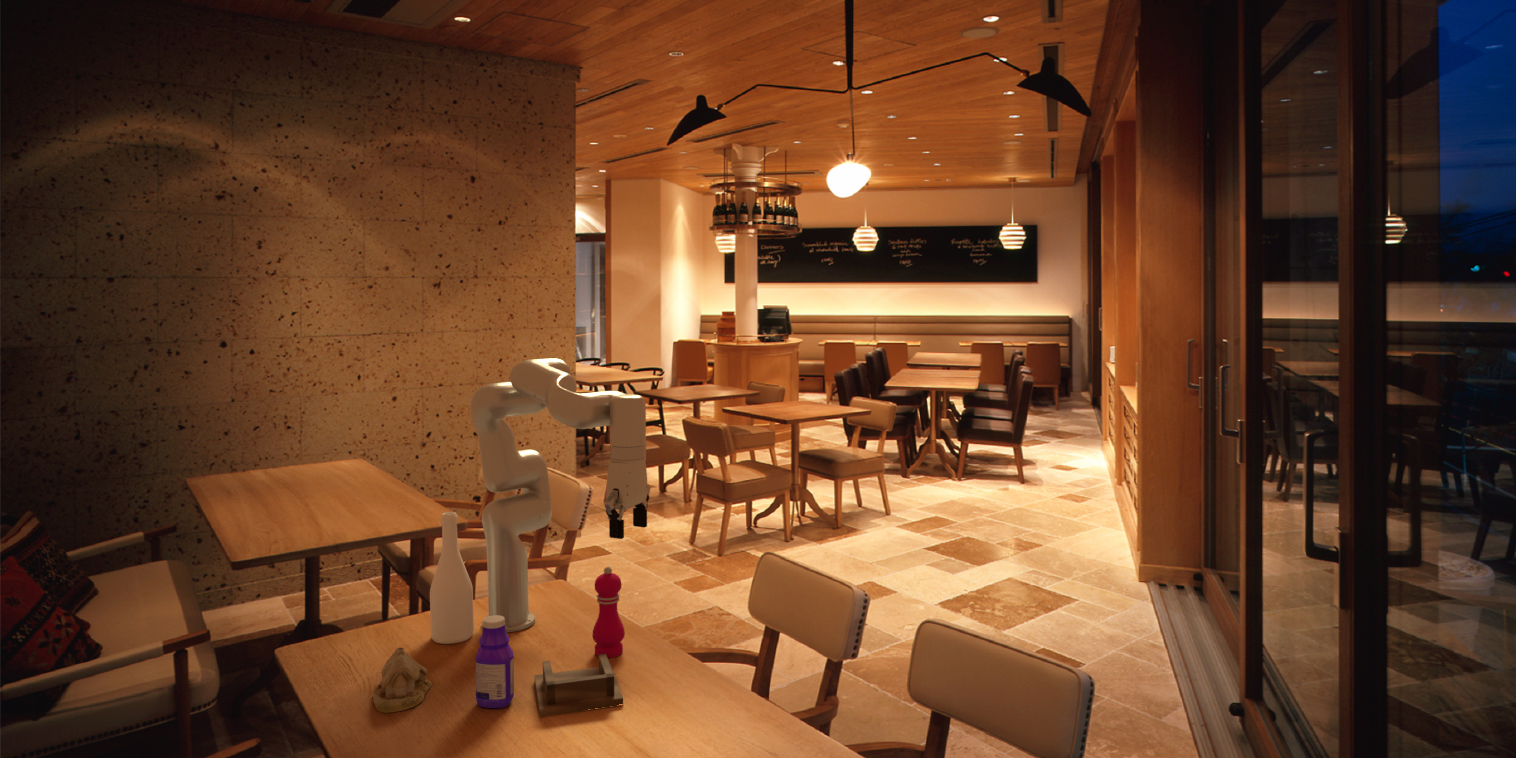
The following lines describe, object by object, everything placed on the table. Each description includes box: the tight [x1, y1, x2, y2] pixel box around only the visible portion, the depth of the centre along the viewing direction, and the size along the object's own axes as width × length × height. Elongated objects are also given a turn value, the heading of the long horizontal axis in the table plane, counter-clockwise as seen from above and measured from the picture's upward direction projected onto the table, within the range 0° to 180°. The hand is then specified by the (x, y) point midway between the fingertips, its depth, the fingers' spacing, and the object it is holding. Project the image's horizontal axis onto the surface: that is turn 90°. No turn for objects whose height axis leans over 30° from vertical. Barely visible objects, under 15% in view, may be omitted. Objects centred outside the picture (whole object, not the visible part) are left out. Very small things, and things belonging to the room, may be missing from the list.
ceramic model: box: [372, 647, 432, 714], centre depth 173 cm, size 14×11×10 cm
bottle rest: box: [534, 654, 624, 718], centre depth 174 cm, size 16×16×6 cm
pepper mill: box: [592, 566, 626, 659], centre depth 194 cm, size 7×7×20 cm
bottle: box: [474, 615, 515, 709], centre depth 169 cm, size 7×6×17 cm
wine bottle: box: [429, 511, 475, 645], centre depth 202 cm, size 10×10×30 cm
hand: (628, 532), depth 183 cm, fingers open, 9 cm apart
